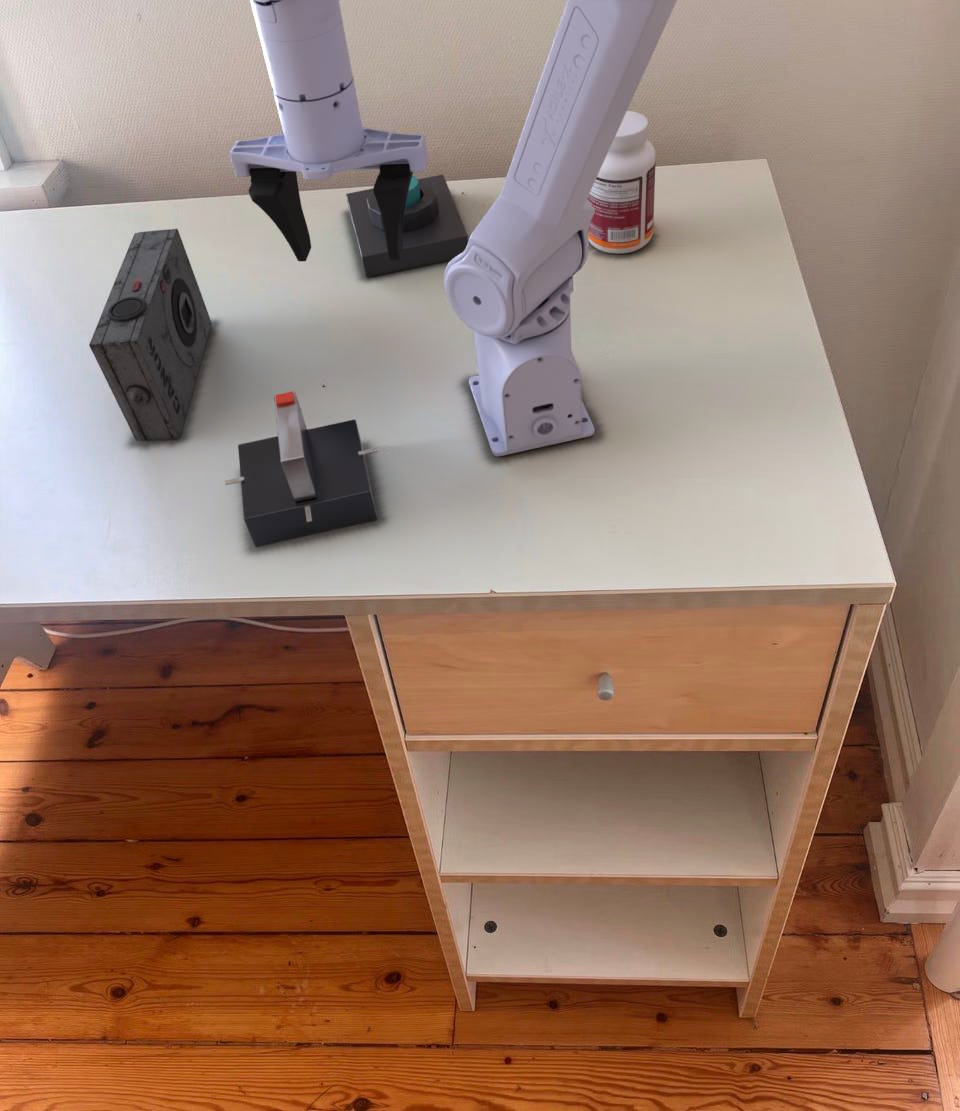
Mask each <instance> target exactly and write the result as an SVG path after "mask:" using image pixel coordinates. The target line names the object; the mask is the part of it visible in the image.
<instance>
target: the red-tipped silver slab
mask: <svg viewBox="0 0 960 1111" xmlns="http://www.w3.org/2000/svg"><path fill="white" fill-rule="evenodd" d="M273 399H274V411H275V419H276V420H275V421H276V429H277V436H278V440H279V450H280V459H281V464H282V467H283V470H284V472H285V475H286V478H287V481H288V484H289V487H290V490H291V493H292V496H293V499H294V501H295V502H297V501H302V500H307V499H311V498H316V497H317V494H316V486H315V479H314V472H313V464H312V457H311V449H310V442H309V435H308V428H307V427H308V426H307V424H306V421H305V418H304V414H303V411H302V408H301V405H300V401H299V398H298V395H297V392H294V391H293V390H292V391H288V392H284V393H279V394H275V395H274V397H273Z"/></svg>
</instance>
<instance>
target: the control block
mask: <svg viewBox="0 0 960 1111" xmlns="http://www.w3.org/2000/svg"><path fill="white" fill-rule="evenodd" d="M417 179H418V178H417ZM418 182H419V189H420V196H421V199H420V202H418V203H416V204H414V205H412V206H410V207H405V211H404V219H403V248H402V252H401V255H400V258H399V260H390V257H389V254H388V249H387V241H386V233H385V227H384V223H383V219H382V215H381V212H380V209H379V205H378V203H377V200H376V197H375V195H374V191H373V188H369V189H363V190H358V191H354V192H349V193H345V198H346V202H347V206H348V212H349V216H350V219H351V223H352V227H353V231H354V235H355V240H356V243H357V247H358V252H359V255H360V260H361V264H362V266H363V267H362V268H363V270H364V275H365V277H366V278H371V277H375V276H380V275H385V274H386V275H387V274H390V273H395V272H401V271H405V270H409V269H410V270H411V269H414V268H420V267H424V266H428V265H435V264H438V263H444V262H448V261H449V262H450V261H451V260H452V259H453V258H455V257H456V256H457V255H459V254H460V253H462V252H463V251H464V250H465V249H466V246H467V244H468V241H469V236H468V233H467V231H466V228H465V225H464V223H463V221H462V217H461V215H460V213H459V210H458V209H457V206H456V203H455V201H454V197H453V195H452V192H451V190H450V188H449V186H448V183H447V181H446V177H445V176H444V174H439V175H433V176H429V177H428V176H427V177H423V178H419V179H418Z"/></svg>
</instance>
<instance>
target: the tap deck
mask: <svg viewBox="0 0 960 1111" xmlns="http://www.w3.org/2000/svg"><path fill="white" fill-rule="evenodd" d="M307 430H308V435H309V442H310V449H311V457H312V464H313V472H314V479H315V486H316V494H317V497H316V498H311V499H307V500H302V501H297V502H295V501H294V499H293V496H292V493H291V490H290V487H289V484H288V481H287V478H286V475H285V472H284V470H283V467H282V464H281V459H280V450H279V440H278V435H276V436H272V437H267V438H263V439H258V440H253V441H248V442H244V443H239V444H238V445H237V449H238V461H239V462H238V463H239V474H240V477H235V478H231V479H226V480H224V485H225V486H229V485H234V484H238V483H239V484H240V486H241V488H240V489H241V500H242V512H243V520H244V523H245V526H246V528H247V531H248V533H249V535H250V537H251V540H252V542H253V545H254V547H255V548H258V547H262V546H266V545H267V546H268V545H271V544H276V543H281V542H285V541H290V540H294V539H298V538H303V537H306V536H307V537H308V536H313V535H316V534H320V533H324V532H329V531H333V530H334V531H335V530H339V529H343V528H348V527H352V526H356V525H361V524H366V523H369V522H374V521H378V515H377V509H376V505H375V499H374V495H373V491H372V485H371V481H370V480H371V479H370V476H369V475H370V474H369V471H368V465H367V461H366V455H370V454H376V453H378V447H377V446H376V447H371V448H367V449H364V447H363V442H362V439H361V435H360V430H359V427H358V423H357V419H349V420H346V421H342V422H341V421H340V422H336V423H332V424H331V423H330V424H327V425H326V424H325V425H323V426H317V427H313V428H309V429H308V428H307Z"/></svg>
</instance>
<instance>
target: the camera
mask: <svg viewBox="0 0 960 1111" xmlns="http://www.w3.org/2000/svg"><path fill="white" fill-rule="evenodd" d="M212 324H213V323H212V320H211V317H210V314H209V312H208V309H207V306H206V303H205V300H204V296H203V295H202V292H201V290H200V286H199V284H198V280H197V278H196V276H195V273H194V271H193V266H192V265H191V261H190V259H189V256H188V253H187V251H186V248H185V246H184V242H183V240H182V237H181V235H180V231H179V229H178V228H171V229H170V228H169V229H157V230H147V231H138V232H135V233H133V235H132V239H131V241H130V244H129V246H128V249H127V251H126V253H125V256H124V258H123V260H122V263H121V265H120V267H119V270H118V272H117V274H116V278H115V280H114V282H113V284H112V288H111V290H110V292H109V295H108V297H107V300H106V303H105V304H104V306H103V308H102V312H101V315H100V317H99V320H98V322H97V324H96V327H95V329H94V332H93V335H92V336H91V339H90V342H89V344H88V346H89V348H90V350H91V352H92V354H93V357H94V358H95V360H96V362H97V364H98V366H99V368H100V370H101V372H102V374H103V376H104V378H105V381H106V382H107V385H108V388H109V389H110V391H111V393H112V395H113V396H114V399H115V401H116V403H117V405H118V407H119V409H120V411H121V414H122V415H123V418H124V419H125V422H126V424H127V426H128V427H129V430H130V431H131V433H132V436H133V438H134V440H135V442H139V441H140V442H142V441H143V442H144V441H156V440H167V439H168V440H170V439H180V438H181V436H182V433H183V429H184V426H185V421H186V418H187V415H188V411H189V407H190V404H191V400H192V397H193V393H194V390H195V386H196V381H197V378H198V374H199V371H200V366H201V362H202V359H203V356H204V352H205V349H206V345H207V342H208V338H209V335H210V331H211V328H212Z"/></svg>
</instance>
